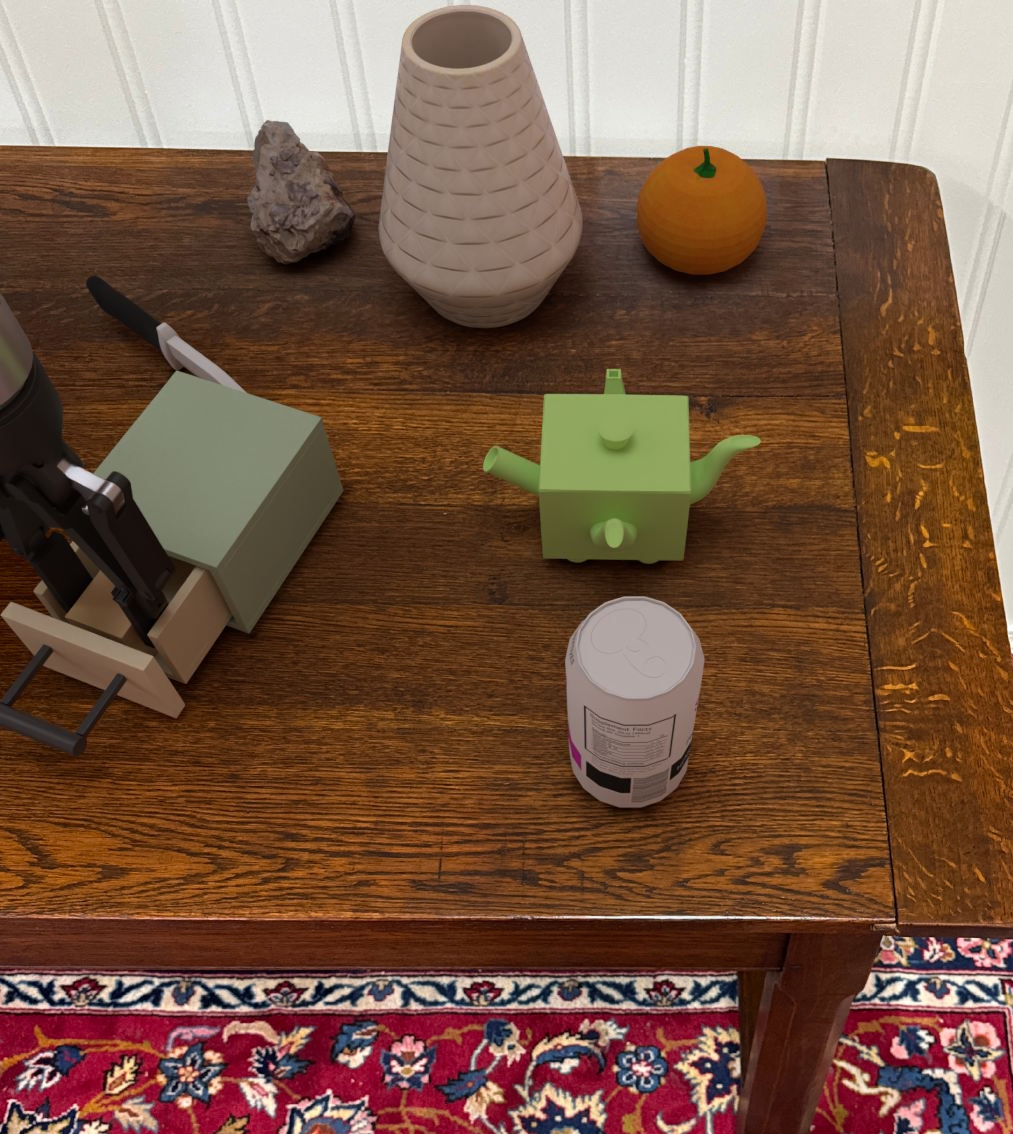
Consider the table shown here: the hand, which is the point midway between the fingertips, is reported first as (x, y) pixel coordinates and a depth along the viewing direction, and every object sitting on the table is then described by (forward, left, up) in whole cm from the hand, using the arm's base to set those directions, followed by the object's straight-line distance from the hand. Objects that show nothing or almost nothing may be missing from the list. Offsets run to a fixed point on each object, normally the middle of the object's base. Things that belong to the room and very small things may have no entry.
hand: (122, 616), depth 79 cm
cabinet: (0, +11, -5) cm, 12 cm away
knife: (-11, +24, -5) cm, 27 cm away
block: (0, 0, -3) cm, 3 cm away
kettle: (+28, +23, -5) cm, 37 cm away
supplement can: (+36, +5, -5) cm, 37 cm away
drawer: (0, -1, -4) cm, 4 cm away
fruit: (+23, +56, -5) cm, 61 cm away
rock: (-12, +43, -5) cm, 45 cm away
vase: (+7, +44, -5) cm, 45 cm away
